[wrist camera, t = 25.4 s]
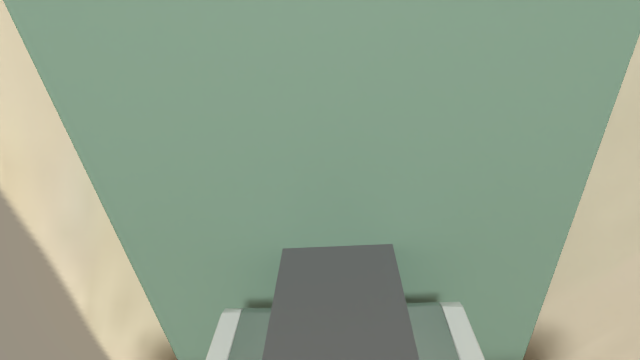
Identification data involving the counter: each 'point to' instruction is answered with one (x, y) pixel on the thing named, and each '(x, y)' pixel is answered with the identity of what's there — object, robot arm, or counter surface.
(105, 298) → the counter surface
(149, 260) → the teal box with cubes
